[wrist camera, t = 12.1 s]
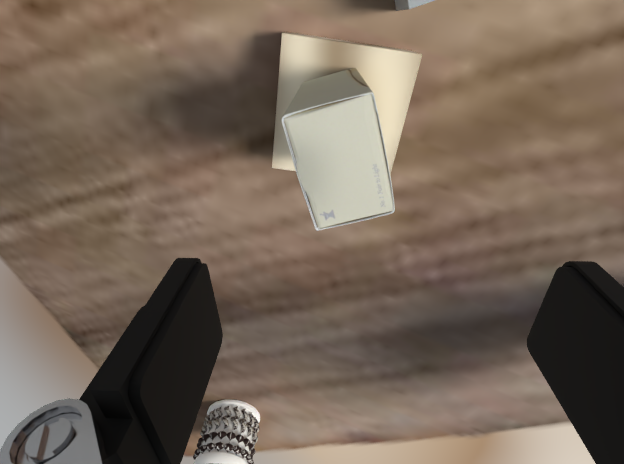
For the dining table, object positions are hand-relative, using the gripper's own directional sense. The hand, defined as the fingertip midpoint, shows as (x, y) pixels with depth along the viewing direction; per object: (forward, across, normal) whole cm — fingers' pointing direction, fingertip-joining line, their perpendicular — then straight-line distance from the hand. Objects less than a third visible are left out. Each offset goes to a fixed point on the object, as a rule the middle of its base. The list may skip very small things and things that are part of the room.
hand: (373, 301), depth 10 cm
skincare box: (+21, +1, 0) cm, 21 cm away
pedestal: (+24, +1, 0) cm, 25 cm away
